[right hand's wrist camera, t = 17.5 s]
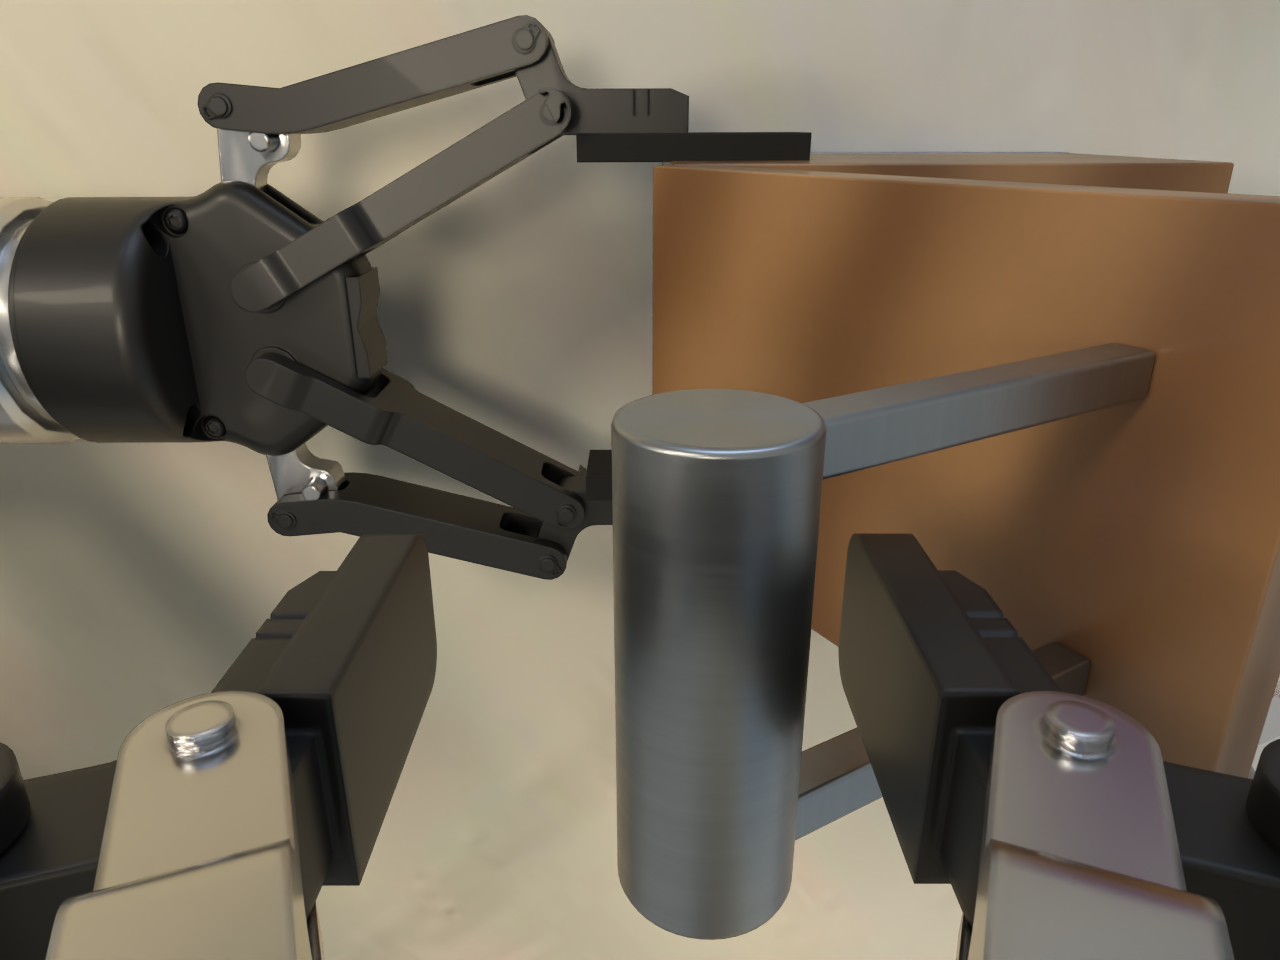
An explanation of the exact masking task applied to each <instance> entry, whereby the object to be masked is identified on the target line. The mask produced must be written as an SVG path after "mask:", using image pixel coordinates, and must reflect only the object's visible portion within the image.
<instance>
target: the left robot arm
mask: <svg viewBox="0 0 1280 960" xmlns="http://www.w3.org/2000/svg"><path fill="white" fill-rule="evenodd" d="M516 76H517V77H518V80H519V83H520V85H521V88H522V91H523V93H524V96H525V98H526V100H525V101H524V102H522V103H520V104H519V105H517V106H516V107H514V108H512V109H511V110H509V111H507V112H506V113H504V114H502V115H501V116H499V117H498V118H496V119H494V120H493V121H491V122H489V123H488V124H486V125H484V126H483V127H481V128H480V129H478V130H476V131H475V132H473V133H471V134H470V135H468V136H466V137H465V138H463V139H462V140H460V141H458V142H457V143H455V144H453V145H452V146H450V147H448V148H447V149H445V150H444V151H442V152H440V153H439V154H437V155H435V156H434V157H432V158H430V159H429V160H427V161H426V162H424V163H422V164H421V165H419V166H417V167H416V168H414V169H412V170H411V171H409V172H408V173H406V174H404V175H403V176H401V177H399V178H398V179H396V180H394V181H393V182H391V183H390V184H388V185H386V186H385V187H383V188H381V189H380V190H378V191H376V192H375V193H373V194H372V195H370V196H368V197H367V198H365V199H363V200H362V201H360V202H358V203H357V204H355V205H353V206H351V207H349V208H347V209H345V210H343V211H341V212H339V213H338V214H336V215H334V216H333V217H331V218H329V219H328V220H326V221H324V222H323V221H322V220H320V219H319V218H317V217H316V216H314V215H313V214H312V213H310V212H309V211H307V210H306V209H304V208H303V207H301V206H300V205H298V204H297V203H295V202H294V201H292V200H291V199H290V198H288V197H287V196H285V195H284V194H282V193H281V192H279V191H278V190H276V189H275V188H273V187H272V186H270V185H269V184H267V175H268V173H269V170H270V169H271V168H272V167H273V165H275V164H277V163H279V162H284V161H288V160H291V159H293V158H294V157H295V156H296V155H297V154H298V152H299V150H300V146H301V134H311V133H322V132H328V131H333V130H337V129H341V128H345V127H348V126H351V125H355V124H358V123H361V122H365V121H368V120H372V119H375V118H378V117H382V116H385V115H388V114H392V113H395V112H398V111H402V110H405V109H408V108H412V107H415V106H419V105H422V104H425V103H429V102H432V101H435V100H439V99H442V98H445V97H449V96H452V95H456V94H459V93H462V92H466V91H469V90H472V89H476V88H479V87H482V86H486V85H489V84H493V83H496V82H499V81H503V80H506V79H509V78H513V77H516ZM198 107H199V111H200V114H201V115H202V117H203V118H204V120H205V121H206V122H207V123H208V124H210V125H211V126H212V127H214V128H217V133H218V146H219V158H220V171H221V183H219V184H217V185H215V186H213V187H212V188H210V189H209V190H207V191H206V192H204V193H202V194H200V195H198V196H195V197H77V198H65V199H60V200H58V201H56V202H54V203H53V202H50V201H47V200H44V199H42V198H0V442H2V443H70V442H72V441H75V440H78V439H84V440H87V441H91V442H210V441H229V442H234V443H237V444H240V445H243V446H246V447H248V448H250V449H252V450H254V451H256V452H258V453H261V454H264V455H266V456H267V460H268V464H269V468H270V471H271V475H272V479H273V483H274V487H275V491H276V494H277V499H278V501H277V502H276V503H275V504H274V505H273V506H272V507H271V508H270V510H269V512H268V522H269V524H270V526H271V528H272V529H273V530H274V531H275V532H276V533H279V534H281V535H283V536H299V535H311V534H322V533H334V532H343V533H347V534H351V535H356V536H360V537H361V536H362V535H363V534H421V535H423V537H424V539H425V541H426V545H427V550H428V552H429V553H433V554H438V555H442V556H446V557H451V558H455V559H459V560H464V561H468V562H472V563H477V564H481V565H485V566H490V567H494V568H498V569H503V570H507V571H511V572H516V573H520V574H524V575H529V576H533V577H537V578H542V579H551V580H552V579H555V578H558V577H559V576H560V575H562V574H563V572H564V571H565V569H566V564H567V560H568V557H569V555H570V552H571V549H572V547H573V544H574V541H575V539H576V537H577V535H578V534H579V532H580V531H581V530H583V529H584V528H586V527H589V526H591V525H613V502H612V450H590V454H589V460H588V467H587V470H586V468H584V467H583V466H582V465H580V467H579V471H576V470H574V469H572V468H570V467H568V466H566V465H564V464H562V463H560V462H558V461H556V460H554V459H552V458H550V457H548V456H546V455H543V454H541V453H539V452H537V451H535V450H533V449H531V448H529V447H527V446H525V445H523V444H521V443H519V442H517V441H515V440H513V439H511V438H509V437H507V436H505V435H503V434H501V433H499V432H497V431H495V430H493V429H491V428H489V427H487V426H485V425H483V424H481V423H479V422H477V421H475V420H473V419H471V418H469V417H467V416H465V415H463V414H461V413H459V412H457V411H455V410H453V409H451V408H449V407H447V406H445V405H443V404H441V403H439V402H437V401H435V400H433V399H431V398H429V397H427V396H425V395H423V394H421V393H419V392H418V391H416V390H415V388H414V387H413V385H412V384H410V383H409V382H408V381H406V380H404V379H402V378H400V377H398V376H396V375H394V374H392V373H390V372H388V371H386V370H384V369H382V367H383V366H384V365H385V364H386V363H387V354H386V345H385V339H384V336H383V333H382V331H381V328H380V325H379V323H378V320H377V317H376V311H377V305H378V299H379V292H380V289H379V280H378V271H377V267H371V265H370V262H369V261H368V259H367V257H366V255H365V254H367V253H369V252H370V251H372V250H374V249H375V248H377V247H379V246H380V245H382V244H384V243H385V242H387V241H389V240H390V239H392V238H394V237H395V236H397V235H398V234H400V233H401V232H403V231H404V230H406V229H408V228H409V227H411V226H413V225H414V224H416V223H418V222H419V221H421V220H423V219H424V218H426V217H428V216H429V215H431V214H433V213H434V212H436V211H438V210H440V209H441V208H443V207H445V206H446V205H448V204H450V203H451V202H453V201H455V200H456V199H458V198H460V197H461V196H463V195H465V194H466V193H468V192H470V191H471V190H473V189H475V188H476V187H478V186H480V185H481V184H483V183H485V182H486V181H488V180H490V179H491V178H493V177H495V176H496V175H498V174H500V173H501V172H503V171H505V170H506V169H508V168H510V167H511V166H513V165H515V164H516V163H518V162H520V161H521V160H523V159H525V158H526V157H528V156H530V155H531V154H533V153H535V152H537V151H538V150H540V149H542V148H543V147H545V146H547V145H548V144H550V143H552V142H553V141H555V140H557V139H558V138H560V137H562V136H563V135H577V162H671V161H784V160H810V147H811V133H807V132H699V133H688V114H689V96H687V95H685V94H682V93H680V92H678V91H675V90H673V89H585V88H580V87H577V86H575V85H574V84H572V83H571V81H570V80H569V79H568V78H567V76H566V74H565V72H564V69H563V67H562V64H561V61H560V58H559V56H558V53H557V50H556V47H555V44H554V40H553V38H552V36H551V34H550V33H549V32H548V30H547V29H546V28H545V27H544V26H543V25H542V24H541V23H540V22H539V21H538V20H536V19H535V18H533V17H530V16H528V15H524V16H516V17H513V18H510V19H506V20H503V21H500V22H497V23H493V24H490V25H487V26H483V27H480V28H477V29H474V30H470V31H467V32H464V33H460V34H457V35H454V36H451V37H447V38H444V39H441V40H437V41H434V42H431V43H427V44H424V45H421V46H418V47H414V48H411V49H408V50H404V51H401V52H398V53H395V54H391V55H388V56H385V57H381V58H378V59H375V60H372V61H368V62H365V63H362V64H358V65H355V66H352V67H349V68H345V69H342V70H339V71H335V72H332V73H329V74H326V75H322V76H319V77H316V78H312V79H309V80H306V81H303V82H299V83H296V84H293V85H289V86H286V87H283V88H269V87H259V86H248V85H237V84H227V83H211V84H208V85H207V86H205V87H204V88H203V89H202V90H201V92H200V94H199V97H198ZM328 425H329V426H331V427H333V428H335V429H338V430H340V431H342V432H344V433H346V434H348V435H350V436H352V437H354V438H356V439H358V440H360V441H363V442H365V443H368V444H373V445H385V446H388V447H390V448H392V449H394V450H396V451H398V452H401V453H403V454H405V455H407V456H409V457H411V458H413V459H415V460H417V461H419V462H421V463H423V464H425V465H427V466H429V467H432V468H434V469H436V470H438V471H440V472H442V473H444V474H446V475H448V476H450V477H452V478H454V479H456V480H458V481H461V482H463V483H465V484H467V485H469V486H471V487H473V488H475V489H477V490H479V491H481V492H483V493H485V494H487V495H489V496H492V497H494V498H496V499H498V500H500V501H502V502H504V503H506V504H508V505H510V506H512V507H509V506H504V505H500V504H496V503H492V502H488V501H483V500H479V499H475V498H471V497H467V496H462V495H458V494H454V493H450V492H446V491H441V490H437V489H433V488H429V487H424V486H420V485H416V484H412V483H408V482H403V481H399V480H395V479H391V478H387V477H382V476H378V475H372V474H366V473H344V472H343V469H342V466H341V464H340V463H338V462H337V461H331V460H327V459H321V458H318V457H316V456H314V455H313V454H312V453H310V451H309V450H308V449H307V446H306V444H305V442H307V441H308V440H309V439H311V438H312V437H313V436H315V435H316V434H317V433H318V432H320V431H321V430H322V429H324V428H325V427H326V426H328ZM513 507H514V508H513Z"/></svg>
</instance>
